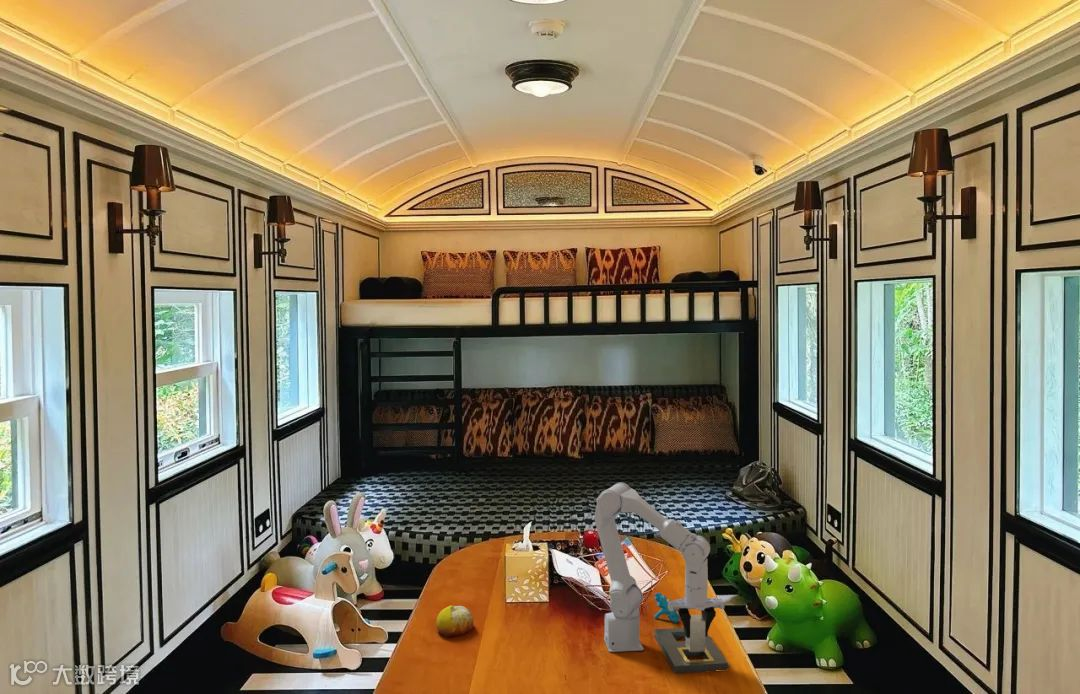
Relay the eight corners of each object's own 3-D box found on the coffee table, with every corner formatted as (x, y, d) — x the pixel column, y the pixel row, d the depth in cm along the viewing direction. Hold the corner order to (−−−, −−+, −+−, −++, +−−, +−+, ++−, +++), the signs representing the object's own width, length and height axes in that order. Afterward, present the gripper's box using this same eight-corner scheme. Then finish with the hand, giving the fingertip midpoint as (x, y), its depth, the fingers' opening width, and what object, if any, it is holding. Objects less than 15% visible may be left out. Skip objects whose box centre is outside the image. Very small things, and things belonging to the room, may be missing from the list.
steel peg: (690, 652, 181) (690, 621, 181) (685, 644, 185) (685, 615, 185) (705, 651, 182) (705, 621, 181) (700, 643, 185) (700, 614, 185)
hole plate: (674, 673, 178) (674, 665, 177) (654, 636, 197) (654, 628, 197) (728, 670, 179) (728, 662, 179) (702, 633, 199) (702, 626, 199)
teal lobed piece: (678, 624, 201) (654, 595, 204) (663, 636, 202) (640, 608, 205) (684, 613, 212) (662, 586, 214) (670, 625, 213) (648, 598, 216)
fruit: (466, 640, 195) (458, 612, 195) (434, 645, 198) (426, 618, 198) (482, 621, 205) (474, 595, 206) (451, 626, 209) (443, 601, 209)
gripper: (673, 592, 177) (672, 644, 178) (728, 589, 179) (728, 641, 179) (665, 581, 184) (665, 631, 185) (719, 579, 186) (718, 628, 186)
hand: (695, 635), depth 183 cm, fingers closed on steel peg, 4 cm apart
